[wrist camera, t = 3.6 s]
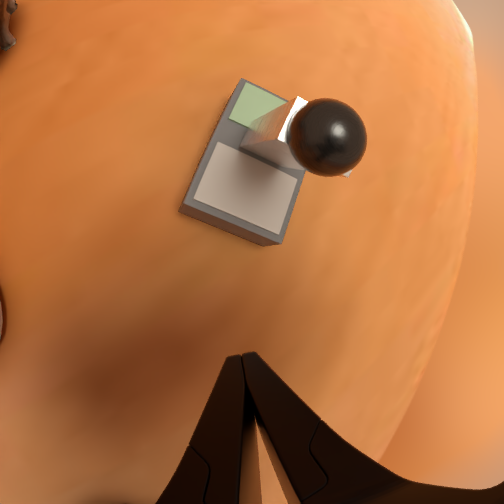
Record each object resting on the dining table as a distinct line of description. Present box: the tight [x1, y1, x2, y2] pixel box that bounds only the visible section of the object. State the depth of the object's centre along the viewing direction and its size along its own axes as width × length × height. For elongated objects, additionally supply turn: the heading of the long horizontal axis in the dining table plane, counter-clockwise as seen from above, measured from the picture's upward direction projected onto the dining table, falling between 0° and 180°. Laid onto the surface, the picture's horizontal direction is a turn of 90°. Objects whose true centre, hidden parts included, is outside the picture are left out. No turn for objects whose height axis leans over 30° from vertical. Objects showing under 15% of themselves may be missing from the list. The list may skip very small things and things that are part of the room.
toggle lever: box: [240, 97, 367, 178], centre depth 13 cm, size 3×3×10 cm
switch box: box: [178, 78, 306, 246], centre depth 19 cm, size 9×6×3 cm, turn 160°
